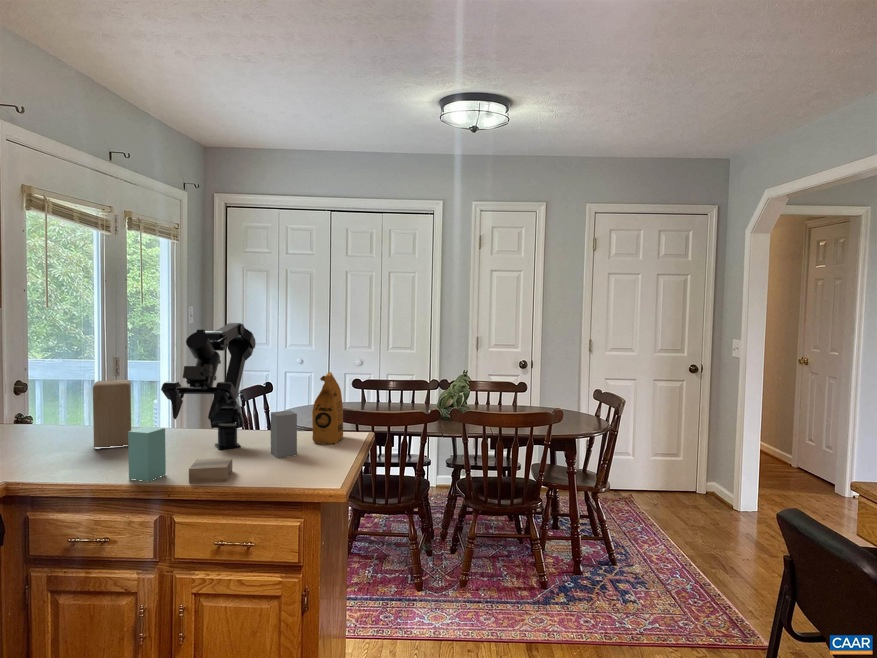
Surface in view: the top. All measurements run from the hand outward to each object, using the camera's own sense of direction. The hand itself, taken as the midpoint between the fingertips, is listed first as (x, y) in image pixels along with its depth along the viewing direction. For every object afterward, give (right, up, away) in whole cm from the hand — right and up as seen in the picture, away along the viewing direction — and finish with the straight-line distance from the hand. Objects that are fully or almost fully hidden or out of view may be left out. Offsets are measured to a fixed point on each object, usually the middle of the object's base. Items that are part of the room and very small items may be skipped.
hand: (191, 418), depth 153 cm
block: (-37, -13, +28) cm, 48 cm away
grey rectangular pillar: (+19, -14, +19) cm, 30 cm away
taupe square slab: (+7, -15, -4) cm, 17 cm away
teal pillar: (-9, -14, -5) cm, 18 cm away
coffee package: (+29, -13, +37) cm, 49 cm away
